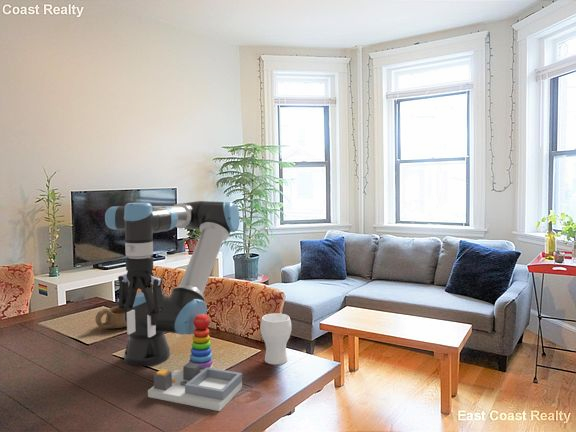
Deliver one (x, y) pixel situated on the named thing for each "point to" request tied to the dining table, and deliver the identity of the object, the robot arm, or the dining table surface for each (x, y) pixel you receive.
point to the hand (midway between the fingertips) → (141, 334)
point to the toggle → (190, 371)
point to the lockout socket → (213, 393)
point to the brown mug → (112, 318)
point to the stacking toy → (201, 343)
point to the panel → (179, 396)
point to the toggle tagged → (163, 379)
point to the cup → (275, 336)
